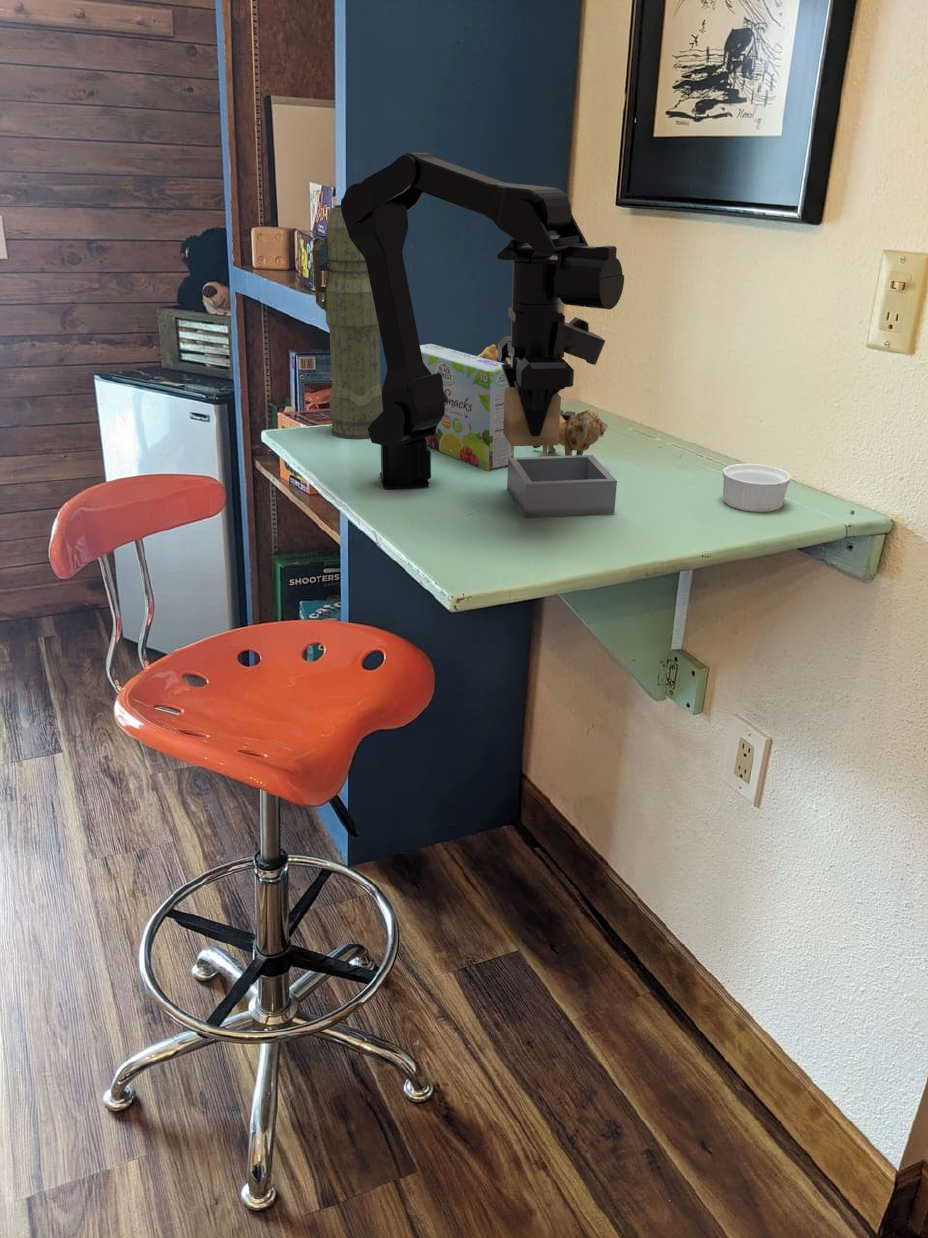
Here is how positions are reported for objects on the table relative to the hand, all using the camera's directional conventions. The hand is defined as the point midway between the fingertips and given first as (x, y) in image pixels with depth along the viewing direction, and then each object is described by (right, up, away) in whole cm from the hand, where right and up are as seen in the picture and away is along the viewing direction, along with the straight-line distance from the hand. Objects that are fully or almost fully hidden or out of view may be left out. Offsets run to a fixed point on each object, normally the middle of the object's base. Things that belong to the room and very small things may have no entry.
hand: (530, 429), depth 127 cm
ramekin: (+31, -9, +9) cm, 33 cm away
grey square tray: (+4, -8, +9) cm, 13 cm away
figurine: (-3, +13, +53) cm, 54 cm away
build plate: (+8, +6, +39) cm, 40 cm away
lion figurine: (+7, 0, +26) cm, 27 cm away
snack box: (-9, +2, +30) cm, 31 cm away
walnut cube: (0, -1, +1) cm, 1 cm away
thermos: (-26, +7, +40) cm, 49 cm away
